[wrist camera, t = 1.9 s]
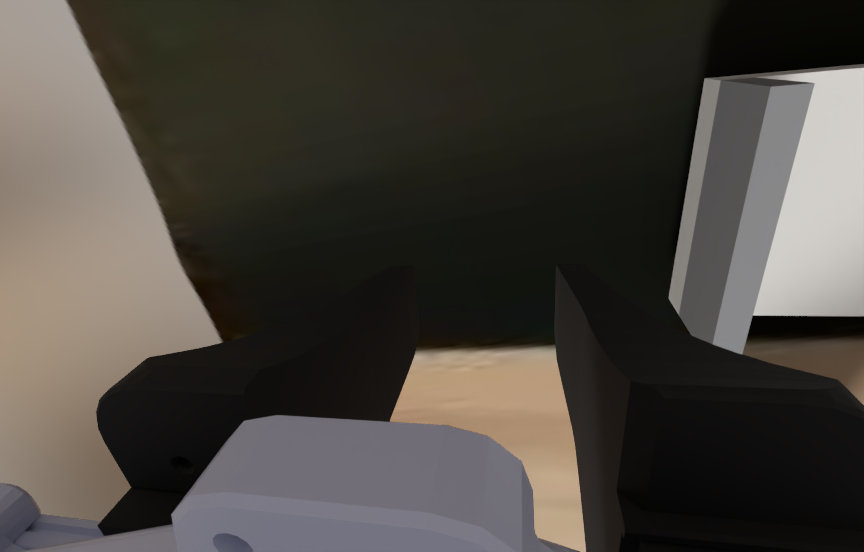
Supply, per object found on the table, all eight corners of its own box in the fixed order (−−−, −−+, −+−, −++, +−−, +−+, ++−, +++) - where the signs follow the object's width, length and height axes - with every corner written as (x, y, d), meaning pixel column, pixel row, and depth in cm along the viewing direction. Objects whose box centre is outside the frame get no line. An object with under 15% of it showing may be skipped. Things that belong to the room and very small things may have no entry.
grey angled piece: (910, 281, 19) (1067, 372, 13) (658, 282, 21) (708, 362, 15) (1012, 47, 15) (1294, 42, 9) (690, 76, 17) (771, 86, 11)
